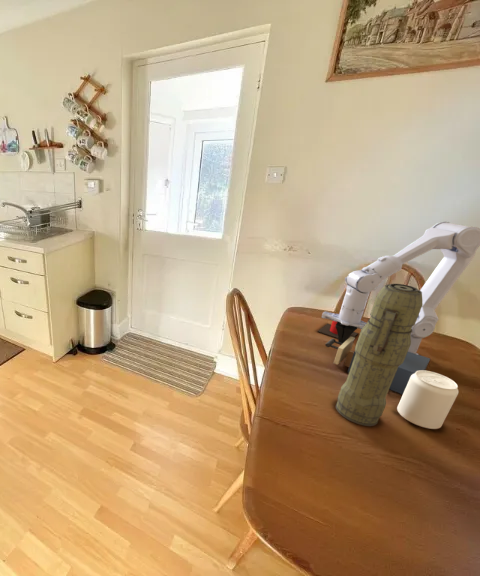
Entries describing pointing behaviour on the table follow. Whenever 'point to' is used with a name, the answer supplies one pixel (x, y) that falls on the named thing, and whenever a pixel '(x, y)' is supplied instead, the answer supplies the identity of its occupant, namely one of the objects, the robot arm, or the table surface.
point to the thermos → (379, 353)
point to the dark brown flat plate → (327, 331)
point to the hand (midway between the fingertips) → (341, 343)
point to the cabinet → (405, 370)
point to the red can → (333, 327)
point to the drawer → (342, 350)
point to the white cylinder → (427, 399)
